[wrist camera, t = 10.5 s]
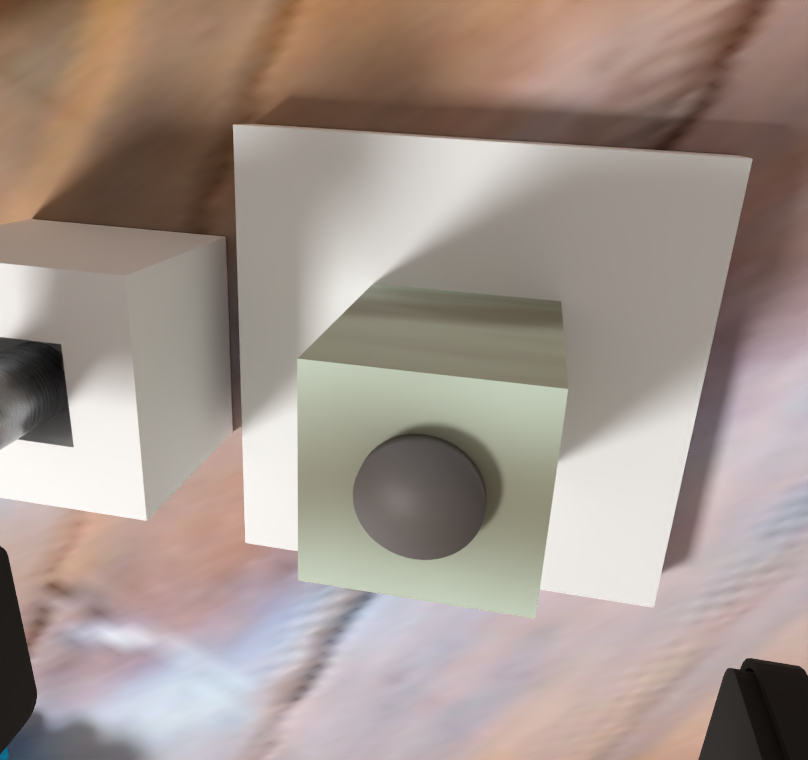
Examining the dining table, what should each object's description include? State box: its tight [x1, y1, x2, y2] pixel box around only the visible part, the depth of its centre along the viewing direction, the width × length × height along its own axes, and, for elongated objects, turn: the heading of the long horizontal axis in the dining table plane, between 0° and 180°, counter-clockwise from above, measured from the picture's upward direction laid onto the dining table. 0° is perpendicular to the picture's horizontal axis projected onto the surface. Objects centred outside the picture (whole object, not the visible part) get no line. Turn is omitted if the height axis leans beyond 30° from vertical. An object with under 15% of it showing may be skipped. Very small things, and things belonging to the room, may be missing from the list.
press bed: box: [0, 124, 753, 608], centre depth 21 cm, size 14×22×6 cm, turn 87°
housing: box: [297, 284, 568, 618], centre depth 18 cm, size 6×6×7 cm
